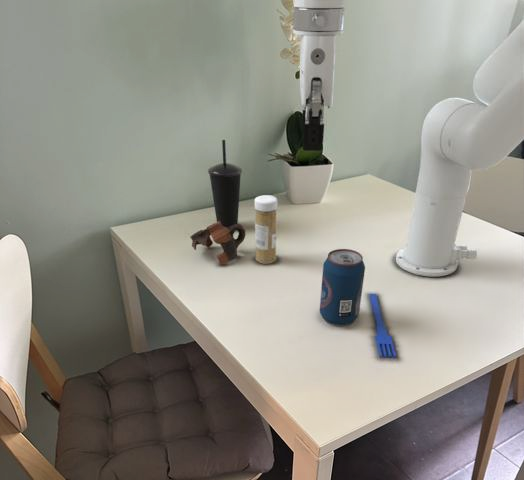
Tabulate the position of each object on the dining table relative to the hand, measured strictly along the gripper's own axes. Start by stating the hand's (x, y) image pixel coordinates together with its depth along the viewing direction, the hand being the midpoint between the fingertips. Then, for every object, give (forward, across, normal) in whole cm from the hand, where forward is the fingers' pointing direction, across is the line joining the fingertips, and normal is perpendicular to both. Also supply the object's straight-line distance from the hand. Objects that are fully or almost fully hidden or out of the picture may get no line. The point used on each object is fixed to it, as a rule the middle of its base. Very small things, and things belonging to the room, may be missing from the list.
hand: (311, 141), depth 86 cm
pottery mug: (+26, +10, +18) cm, 34 cm away
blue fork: (+26, -16, -13) cm, 33 cm away
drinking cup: (+26, +25, +18) cm, 41 cm away
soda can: (+26, -14, -6) cm, 31 cm away
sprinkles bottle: (+26, +8, +8) cm, 29 cm away
